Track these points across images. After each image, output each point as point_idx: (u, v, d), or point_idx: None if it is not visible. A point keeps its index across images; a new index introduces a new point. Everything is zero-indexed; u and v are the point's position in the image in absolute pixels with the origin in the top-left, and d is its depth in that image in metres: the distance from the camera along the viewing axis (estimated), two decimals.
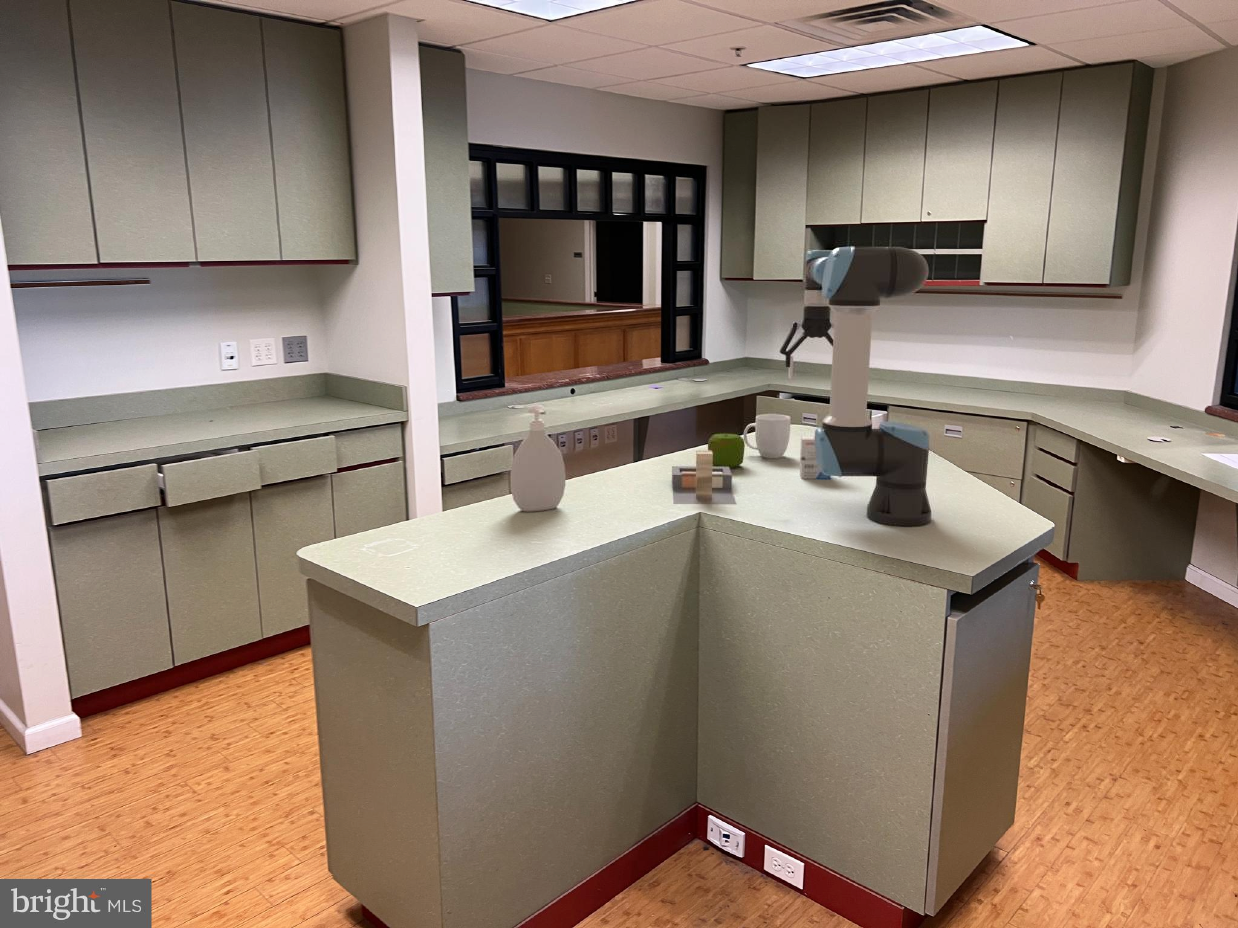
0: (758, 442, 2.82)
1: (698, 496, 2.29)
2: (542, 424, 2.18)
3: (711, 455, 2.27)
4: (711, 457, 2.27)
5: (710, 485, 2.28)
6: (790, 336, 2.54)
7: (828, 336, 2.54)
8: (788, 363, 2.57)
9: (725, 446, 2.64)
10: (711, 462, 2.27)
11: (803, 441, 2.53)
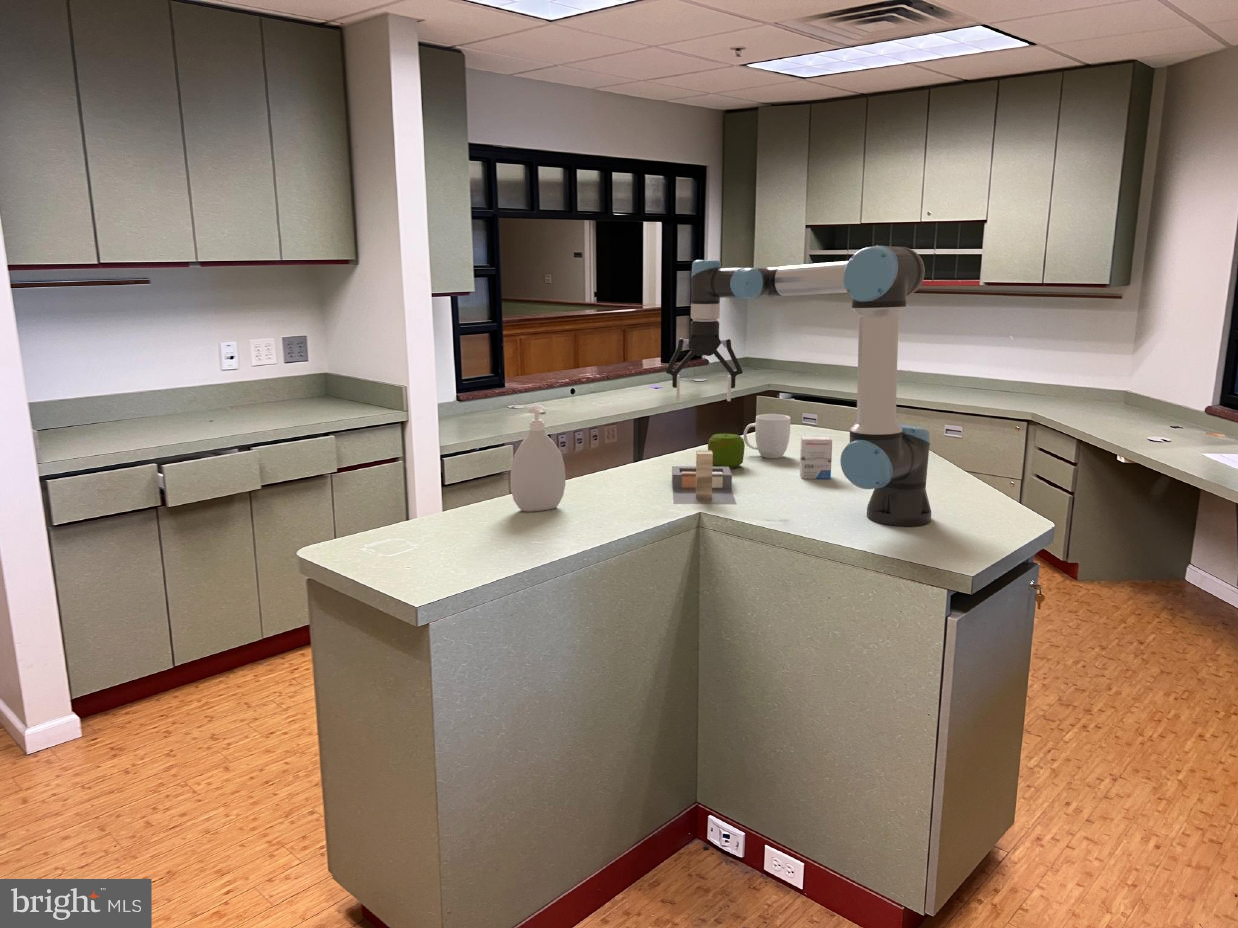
0: (758, 442, 2.82)
1: (698, 496, 2.29)
2: (542, 424, 2.18)
3: (711, 455, 2.27)
4: (711, 457, 2.27)
5: (710, 485, 2.28)
6: (676, 354, 2.32)
7: (717, 354, 2.31)
8: (675, 383, 2.34)
9: (725, 446, 2.64)
10: (711, 462, 2.27)
11: (803, 441, 2.53)
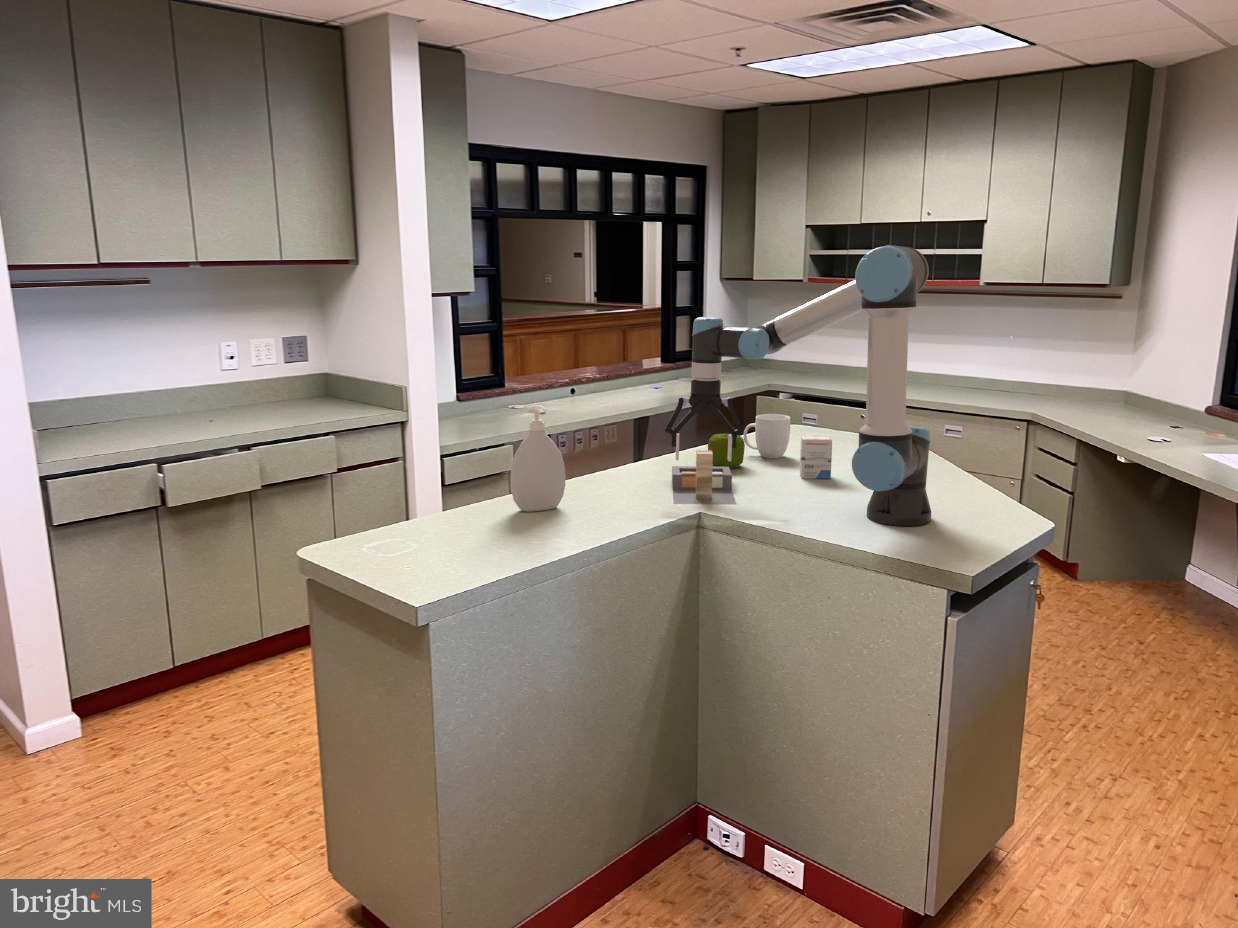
0: (758, 442, 2.82)
1: (698, 496, 2.29)
2: (542, 424, 2.18)
3: (711, 455, 2.27)
4: (711, 457, 2.27)
5: (710, 485, 2.28)
6: (675, 413, 2.25)
7: (718, 414, 2.24)
8: (674, 442, 2.28)
9: (725, 446, 2.64)
10: (711, 462, 2.27)
11: (803, 441, 2.53)
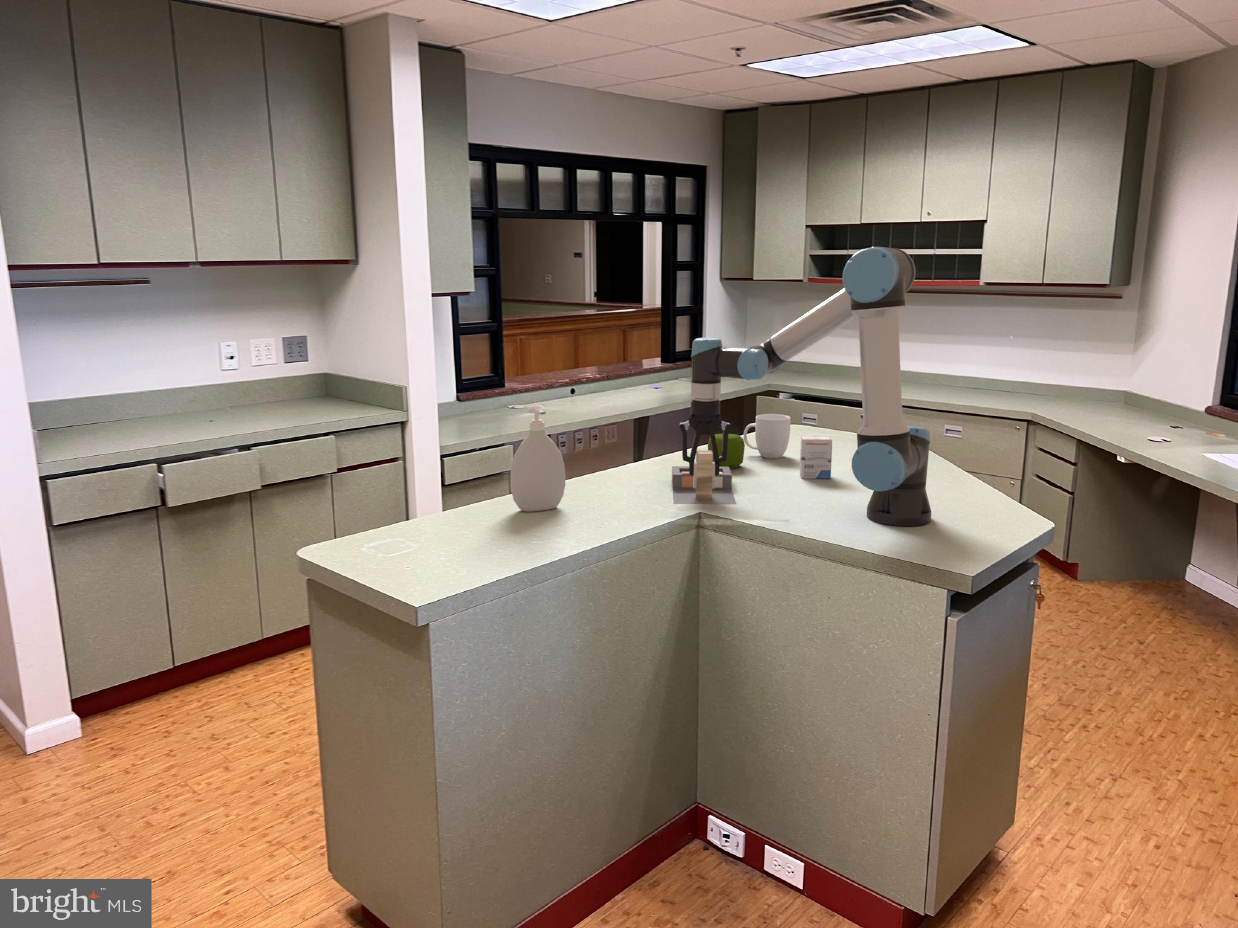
0: (758, 442, 2.82)
1: (698, 496, 2.29)
2: (542, 424, 2.18)
3: (711, 455, 2.27)
4: (711, 457, 2.27)
5: (710, 485, 2.28)
6: (683, 440, 2.27)
7: (712, 436, 2.26)
8: (692, 471, 2.29)
9: None
10: (711, 462, 2.27)
11: (803, 441, 2.53)
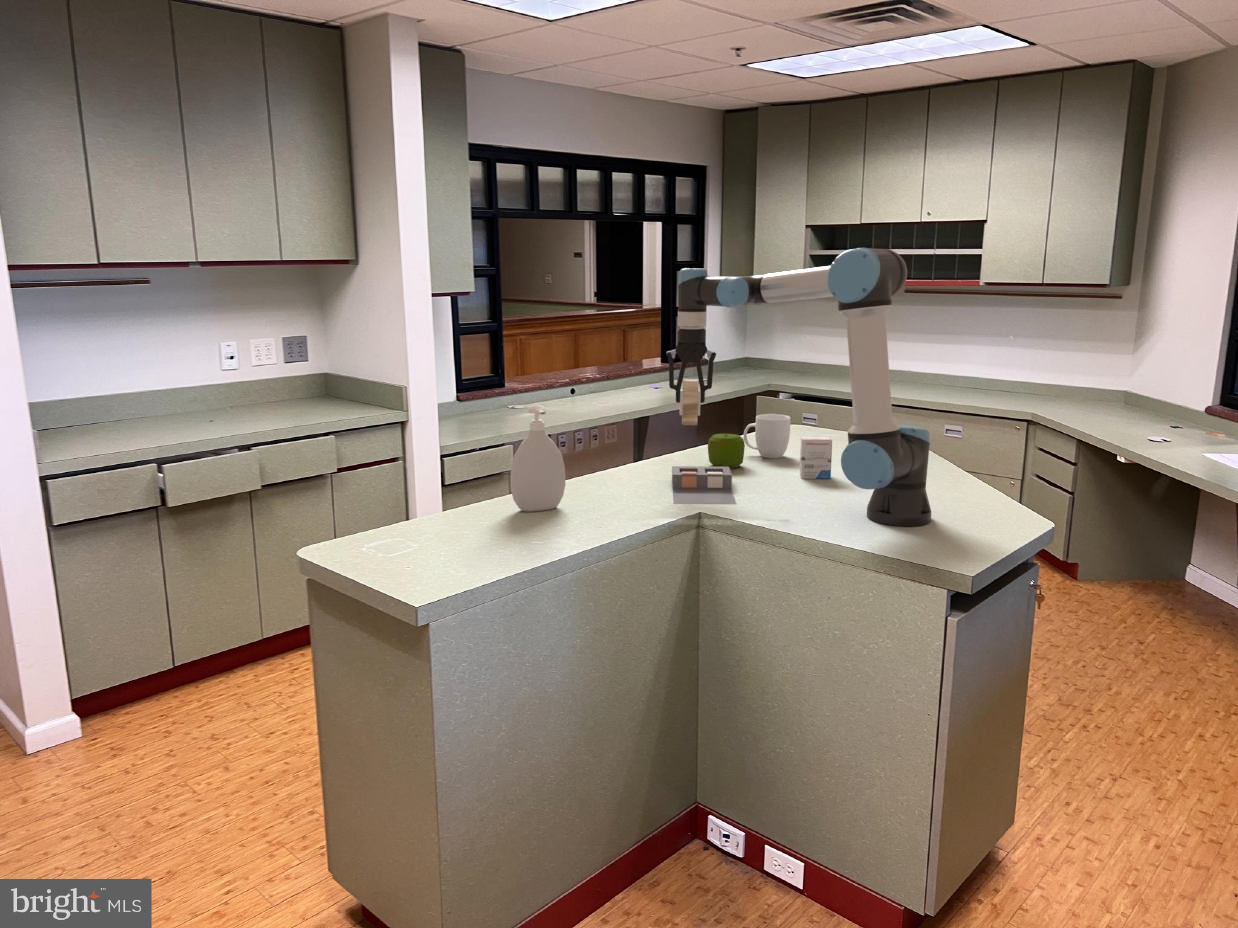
0: (758, 442, 2.82)
1: (684, 422, 2.37)
2: (542, 424, 2.18)
3: (697, 382, 2.35)
4: (697, 384, 2.35)
5: (696, 412, 2.37)
6: (670, 367, 2.35)
7: (698, 364, 2.34)
8: (678, 398, 2.37)
9: (725, 446, 2.64)
10: (697, 389, 2.35)
11: (803, 441, 2.53)
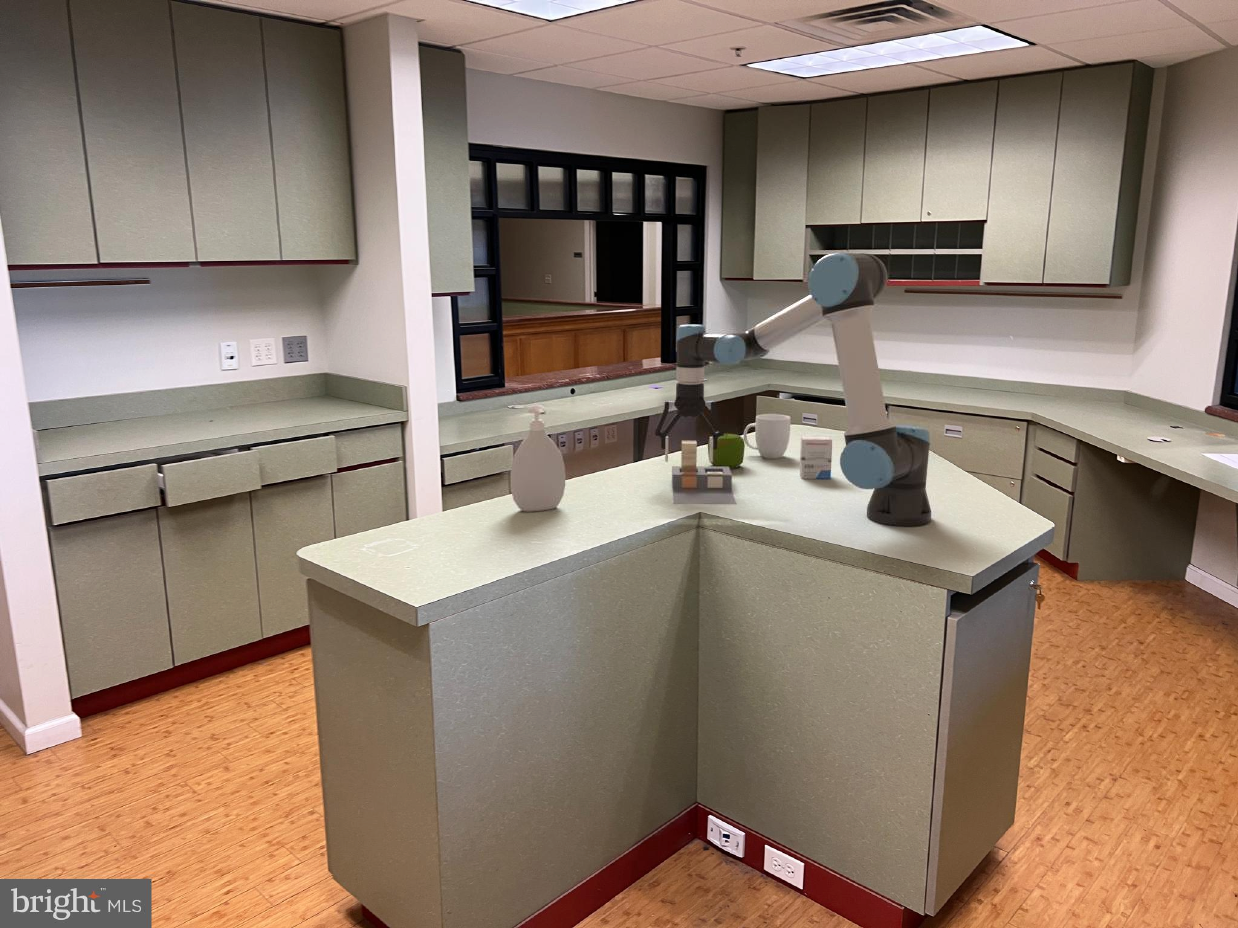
0: (758, 442, 2.82)
1: None
2: (542, 424, 2.18)
3: (695, 445, 2.39)
4: (695, 447, 2.39)
5: None
6: (663, 416, 2.39)
7: (701, 416, 2.38)
8: (663, 445, 2.41)
9: (725, 446, 2.64)
10: (695, 451, 2.40)
11: (803, 441, 2.53)
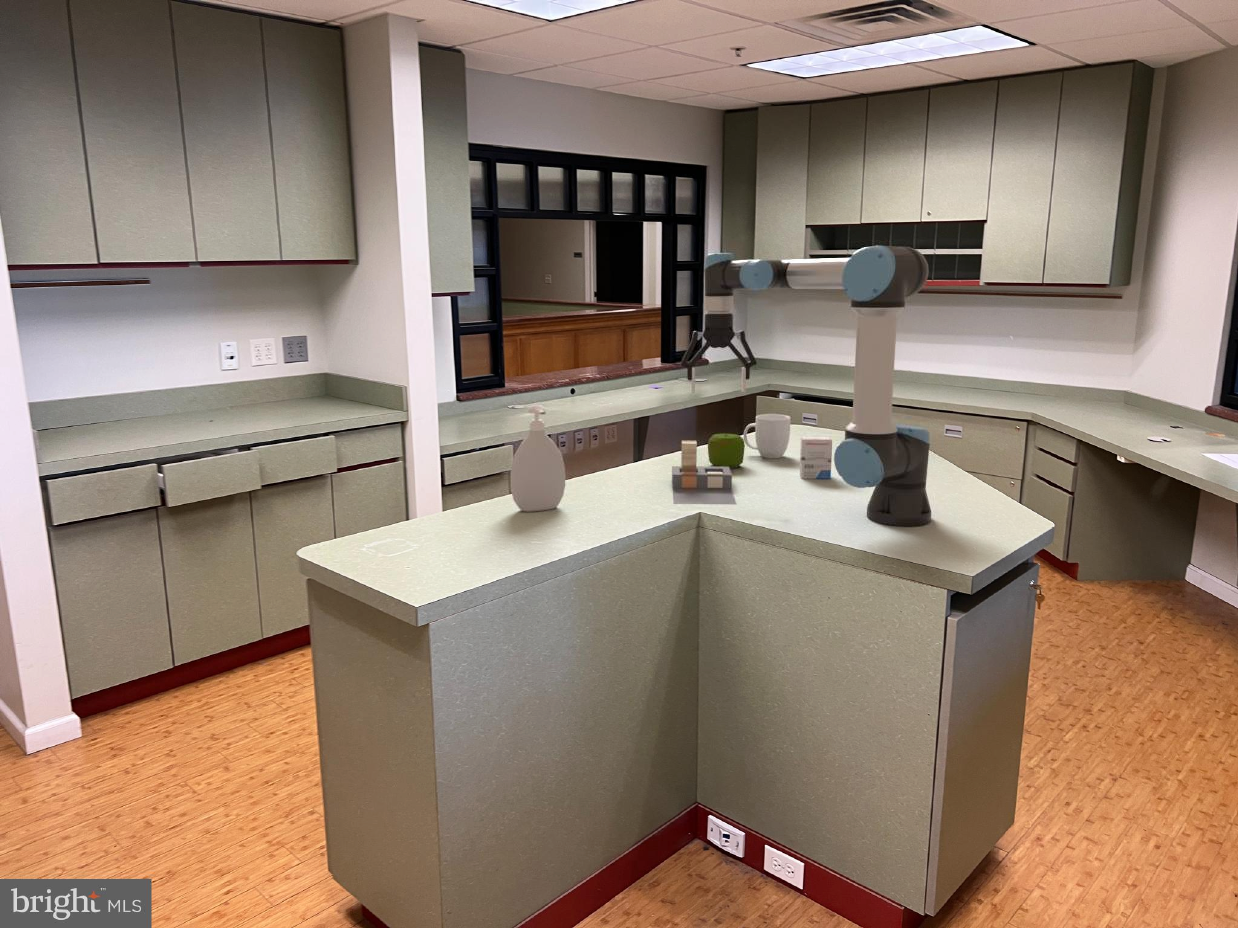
0: (758, 442, 2.82)
1: None
2: (542, 424, 2.18)
3: (695, 445, 2.39)
4: (695, 447, 2.39)
5: None
6: (691, 347, 2.35)
7: (731, 346, 2.34)
8: (690, 376, 2.37)
9: (725, 446, 2.64)
10: (695, 451, 2.40)
11: (803, 441, 2.53)
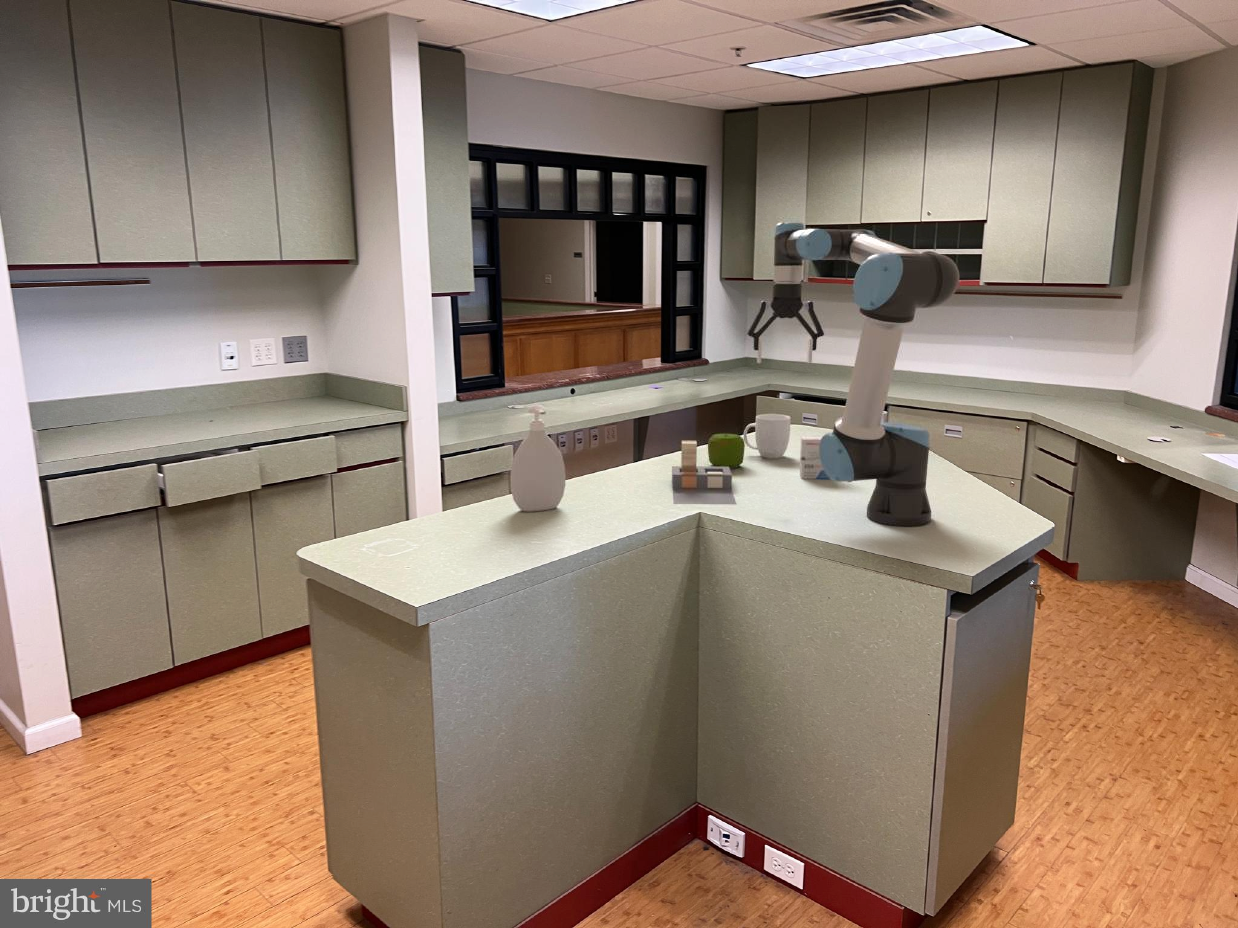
0: (758, 442, 2.82)
1: None
2: (542, 424, 2.18)
3: (695, 445, 2.39)
4: (695, 447, 2.39)
5: None
6: (758, 316, 2.35)
7: (799, 316, 2.34)
8: (756, 346, 2.37)
9: (725, 446, 2.64)
10: (695, 451, 2.40)
11: (803, 441, 2.53)
